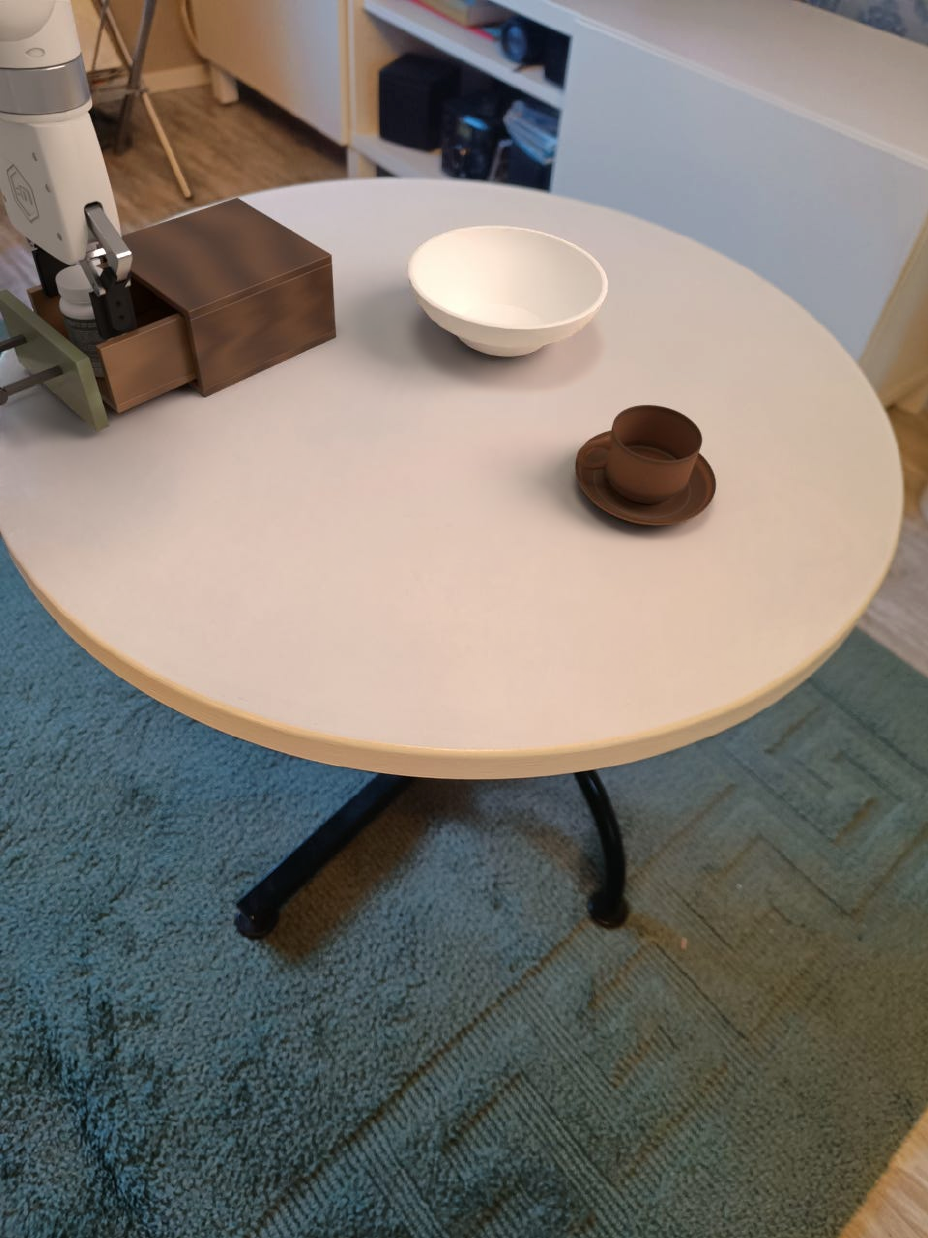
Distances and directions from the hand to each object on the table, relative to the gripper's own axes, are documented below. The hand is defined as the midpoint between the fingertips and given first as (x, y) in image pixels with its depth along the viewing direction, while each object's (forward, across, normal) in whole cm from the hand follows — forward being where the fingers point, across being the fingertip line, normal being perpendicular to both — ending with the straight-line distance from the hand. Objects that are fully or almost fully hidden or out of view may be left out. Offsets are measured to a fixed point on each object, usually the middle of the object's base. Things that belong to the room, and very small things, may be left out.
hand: (90, 311), depth 74 cm
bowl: (+7, +18, +34) cm, 39 cm away
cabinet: (+7, 0, +13) cm, 15 cm away
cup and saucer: (+7, +42, +26) cm, 50 cm away
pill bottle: (+5, 0, 0) cm, 5 cm away
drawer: (+6, 0, -1) cm, 6 cm away
